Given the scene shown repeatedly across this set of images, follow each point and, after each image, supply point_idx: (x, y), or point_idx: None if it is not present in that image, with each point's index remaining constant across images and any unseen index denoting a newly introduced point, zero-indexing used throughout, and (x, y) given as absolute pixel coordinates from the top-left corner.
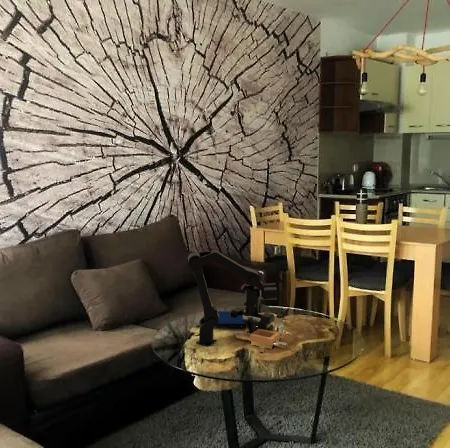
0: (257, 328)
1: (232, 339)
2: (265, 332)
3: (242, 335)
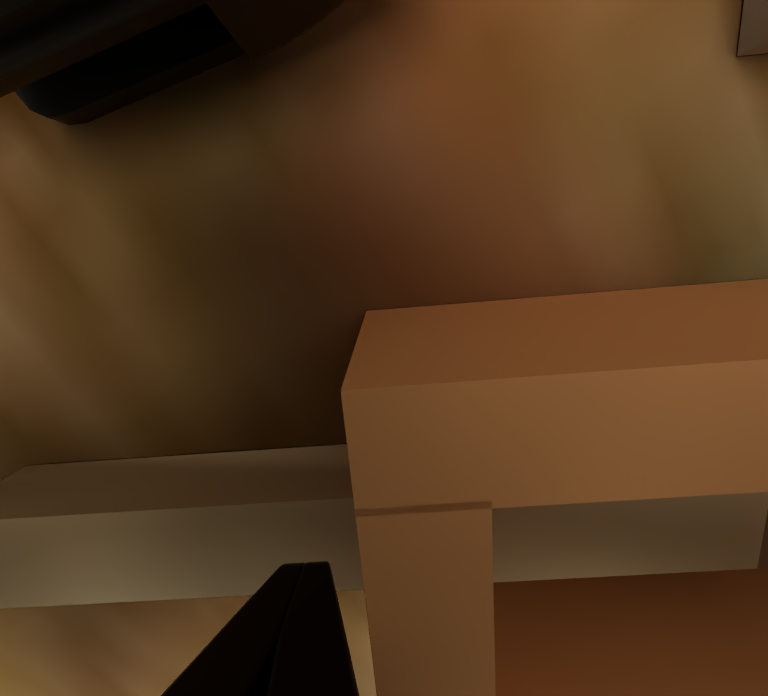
0: (99, 5)
1: None
2: (703, 468)
3: (112, 596)
